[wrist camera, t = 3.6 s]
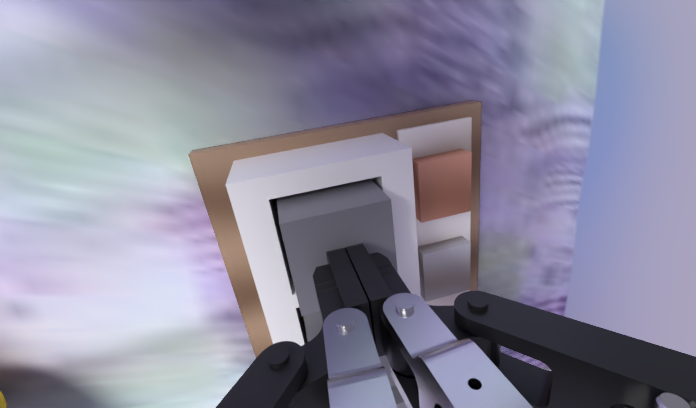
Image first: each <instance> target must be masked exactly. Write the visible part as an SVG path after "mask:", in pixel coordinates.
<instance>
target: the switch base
mask: <svg viewBox="0 0 696 408" xmlns="http://www.w3.org/2000/svg"><path fill="white" fill-rule="evenodd" d="M481 107H482V102H479V101H472V100H471V101H466V102H460V103H455V104H449V105H443V106H438V107H432V108H427V109H421V110H416V111H410V112H404V113H399V114H393V115H388V116H382V117H376V118H371V119H365V120H360V121H354V122H349V123H343V124H337V125H332V126H326V127H321V128H315V129H309V130H304V131H298V132H293V133H287V134H281V135H276V136H270V137H265V138H259V139H254V140H248V141H242V142H237V143H231V144H226V145H220V146H214V147H209V148H203V149H198V150H192V152H191V153H190V154H189V158H190V161H191V164H192V167H193V170H194V173H195V176H196V179H197V182H198V185H199V188H200V191H201V194H202V197H203V200H204V203H205V206H206V209H207V212H208V215H209V218H210V221H211V224H212V227H213V230H214V233H215V236H216V239H217V242H218V245H219V248H220V251H221V254H222V257H223V260H224V263H225V266H226V269H227V272H228V275H229V278H230V281H231V284H232V287H233V290H234V293H235V296H236V299H237V302H238V305H239V308H240V311H241V314H242V317H243V320H244V323H245V326H246V329H247V332H248V335H249V338H250V341H251V344H252V347H253V350H254V353H255V356H256V358H257V357H258V356H259V355H260V353H261V352H262V351H263V350H265V349H266V348H267V347H269V346H270V345H272V344H273V342H272V339H271V335H270V332H269V329H268V325H267V322H266V318H265V315H264V312H263V308H262V305H261V302H260V298H259V295H258V292H257V288H256V285H255V282H254V278H253V275H252V272H251V268H250V265H249V262H248V258H247V255H246V252H245V248H244V245H243V242H242V238H241V235H240V232H239V228H238V225H237V222H236V218H235V215H234V211H233V208H232V205H231V201H230V198H229V195H228V191H227V188H226V182H227V179H228V176H229V173H230V170H231V167H232V164H233V161H235V160H240V159H245V158H251V157H256V156H261V155H267V154H272V153H277V152H283V151H288V150H294V149H299V148H304V147H310V146H315V145H320V144H326V143H331V142H336V141H342V140H347V139H352V138H358V137H363V136H368V135H374V134H379V133H384V134H386V135H388V136H390V137H392V138H393V139H395V140H397V141H399V142H401V143H403V144H405V145H407V146H409V147H411V148H412V162H413V178H414V194H415V211H416V227H417V243H418V260H419V276H420V293H421V298H422V299H423V300H424V301H425V302H426V303H427V304H428V305H433V306H453V305H454V301H455V299H456V297H457V296H458V295H460V294H461V293H464V292H467V291H477V289H478V243H479V198H480V153H481ZM274 201H275V206H276V210H277V214H278V207H277V198H274ZM278 218H279V217H278ZM302 317H303V321H304V316H302ZM304 325H305V322H304ZM305 329H306V328H305Z"/></svg>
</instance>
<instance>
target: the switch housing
mask: <svg viewBox="0 0 696 408" xmlns="http://www.w3.org/2000/svg"><path fill="white" fill-rule="evenodd" d="M365 179H371V180H372V181H373V182H374V183H375V184H376V185H377V186H378V187H379V188H380V189H381V190H382V191H383V192H384V193H385V194H386V195H387V196H388V197H389V198H390V199H391V204H392V215H393V226H394V237H395V248H396V259H397V270H398V274H399V276H400V277H401V279H402V280H403V282H404V283H405V285H406V286H407V288H408V289H409V291H410V292H411V294H415V295H418V296H420V297H421V293H420V276H419V260H418V243H417V227H416V211H415V194H414V178H413V162H412V148H411V147H409V146H407V145H405V144H403V143H401V142H399V141H397V140H395V139H393V138H392V137H390V136H388V135H386V134H384V133H379V134H374V135H368V136H363V137H358V138H352V139H347V140H342V141H336V142H331V143H326V144H320V145H315V146H310V147H304V148H299V149H294V150H288V151H283V152H277V153H272V154H267V155H261V156H256V157H251V158H245V159H240V160H235V161H233V164H232V167H231V170H230V173H229V176H228V179H227V182H226V188H227V191H228V195H229V198H230V201H231V205H232V208H233V211H234V215H235V218H236V222H237V225H238V228H239V232H240V235H241V238H242V242H243V245H244V248H245V252H246V255H247V258H248V262H249V265H250V268H251V272H252V275H253V278H254V282H255V285H256V288H257V292H258V295H259V298H260V302H261V305H262V308H263V312H264V315H265V318H266V322H267V325H268V329H269V332H270V335H271V339H272V342H273V344H275V343H277V342H281V341H292V342H295V343H297V344H299V345H300V346H302V345H304V344H306V343H308V340H307V334H306V329H305V325H304V321H303V317H302V316H301V312H300V308H299V304H298V299H297V295H296V291H295V287H294V283H293V279H292V275H291V271H290V267H289V262H288V258H287V254H286V250H285V246H284V242H283V238H282V234H281V230H280V225H279V218H278V214H277V210H276V206H275V201H274V198H279V197H284V196H289V195H294V194H298V193H303V192H308V191H313V190H317V189H322V188H327V187H332V186H337V185H341V184H346V183H351V182H356V181H361V180H365Z"/></svg>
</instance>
